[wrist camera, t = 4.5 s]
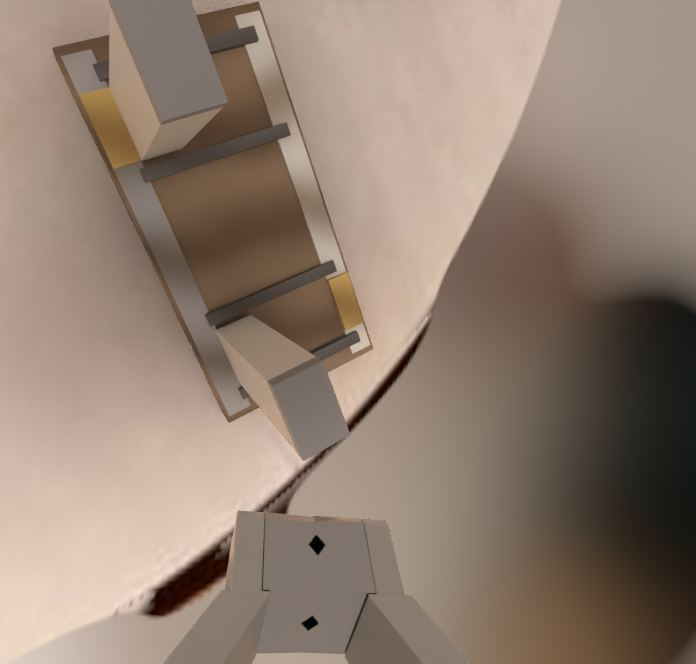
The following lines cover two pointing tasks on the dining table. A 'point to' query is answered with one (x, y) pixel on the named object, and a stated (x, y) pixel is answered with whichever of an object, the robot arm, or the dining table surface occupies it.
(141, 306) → the dining table surface
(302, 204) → the slotted wooden base
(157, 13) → the tab
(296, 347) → the tab
